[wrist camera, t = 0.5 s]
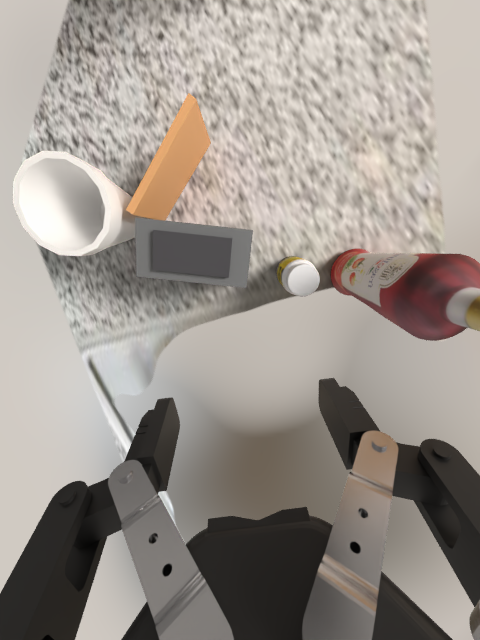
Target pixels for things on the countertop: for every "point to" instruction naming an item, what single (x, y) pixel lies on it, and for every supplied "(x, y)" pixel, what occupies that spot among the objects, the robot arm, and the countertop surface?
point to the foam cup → (71, 205)
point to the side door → (172, 164)
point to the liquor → (414, 289)
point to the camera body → (192, 252)
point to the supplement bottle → (298, 276)
